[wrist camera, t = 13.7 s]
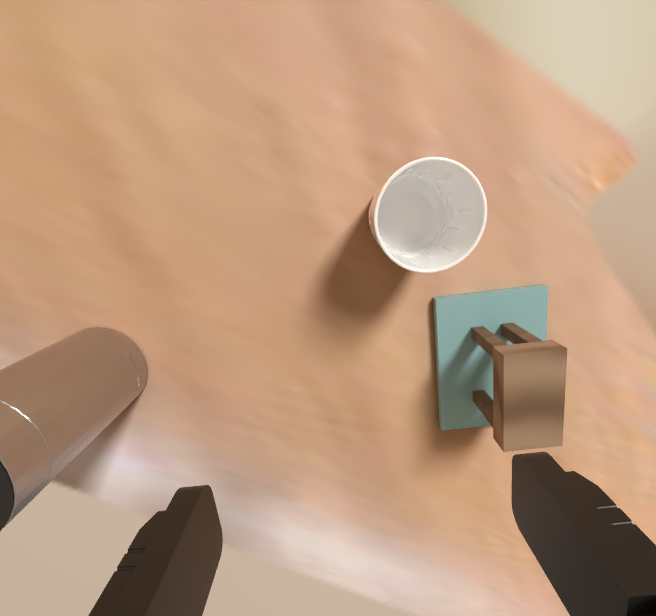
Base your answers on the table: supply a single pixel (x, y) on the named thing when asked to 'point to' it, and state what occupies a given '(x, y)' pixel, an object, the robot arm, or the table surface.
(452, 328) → the board
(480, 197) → the white cup
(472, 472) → the table surface
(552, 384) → the tan slab with prongs
